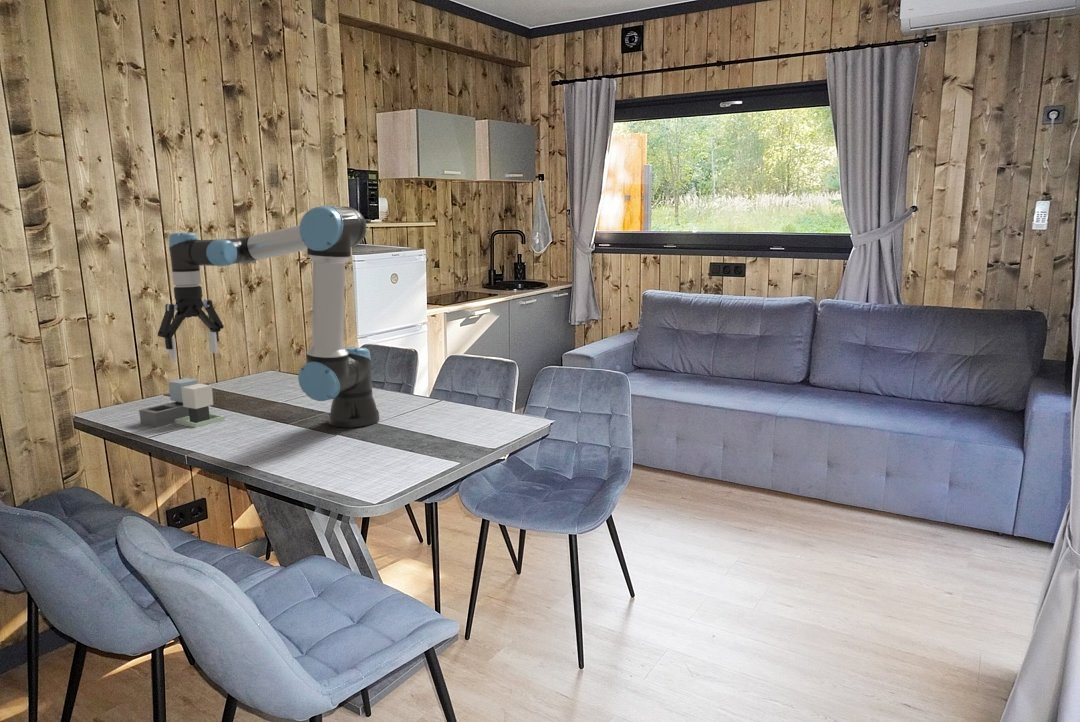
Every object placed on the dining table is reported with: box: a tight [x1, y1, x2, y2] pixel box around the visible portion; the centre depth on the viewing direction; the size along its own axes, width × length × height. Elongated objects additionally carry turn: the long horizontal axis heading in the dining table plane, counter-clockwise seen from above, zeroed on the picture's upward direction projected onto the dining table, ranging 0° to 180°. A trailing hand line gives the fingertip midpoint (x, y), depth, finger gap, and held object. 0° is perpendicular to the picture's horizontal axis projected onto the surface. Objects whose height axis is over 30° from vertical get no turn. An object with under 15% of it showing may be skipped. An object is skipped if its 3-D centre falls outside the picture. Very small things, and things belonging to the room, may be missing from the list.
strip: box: [138, 377, 210, 429], centre depth 235 cm, size 8×21×12 cm, turn 150°
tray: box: [174, 412, 226, 429], centre depth 231 cm, size 10×10×2 cm
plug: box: [181, 383, 214, 423], centre depth 230 cm, size 6×6×11 cm
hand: (194, 356), depth 228 cm, fingers open, 13 cm apart
